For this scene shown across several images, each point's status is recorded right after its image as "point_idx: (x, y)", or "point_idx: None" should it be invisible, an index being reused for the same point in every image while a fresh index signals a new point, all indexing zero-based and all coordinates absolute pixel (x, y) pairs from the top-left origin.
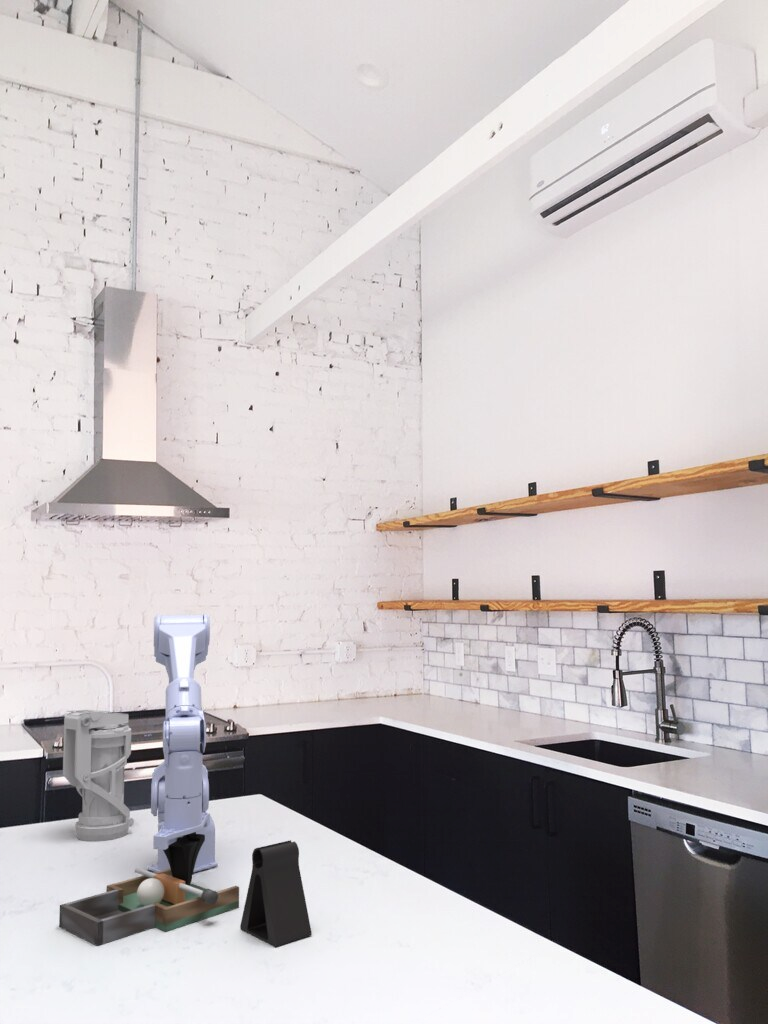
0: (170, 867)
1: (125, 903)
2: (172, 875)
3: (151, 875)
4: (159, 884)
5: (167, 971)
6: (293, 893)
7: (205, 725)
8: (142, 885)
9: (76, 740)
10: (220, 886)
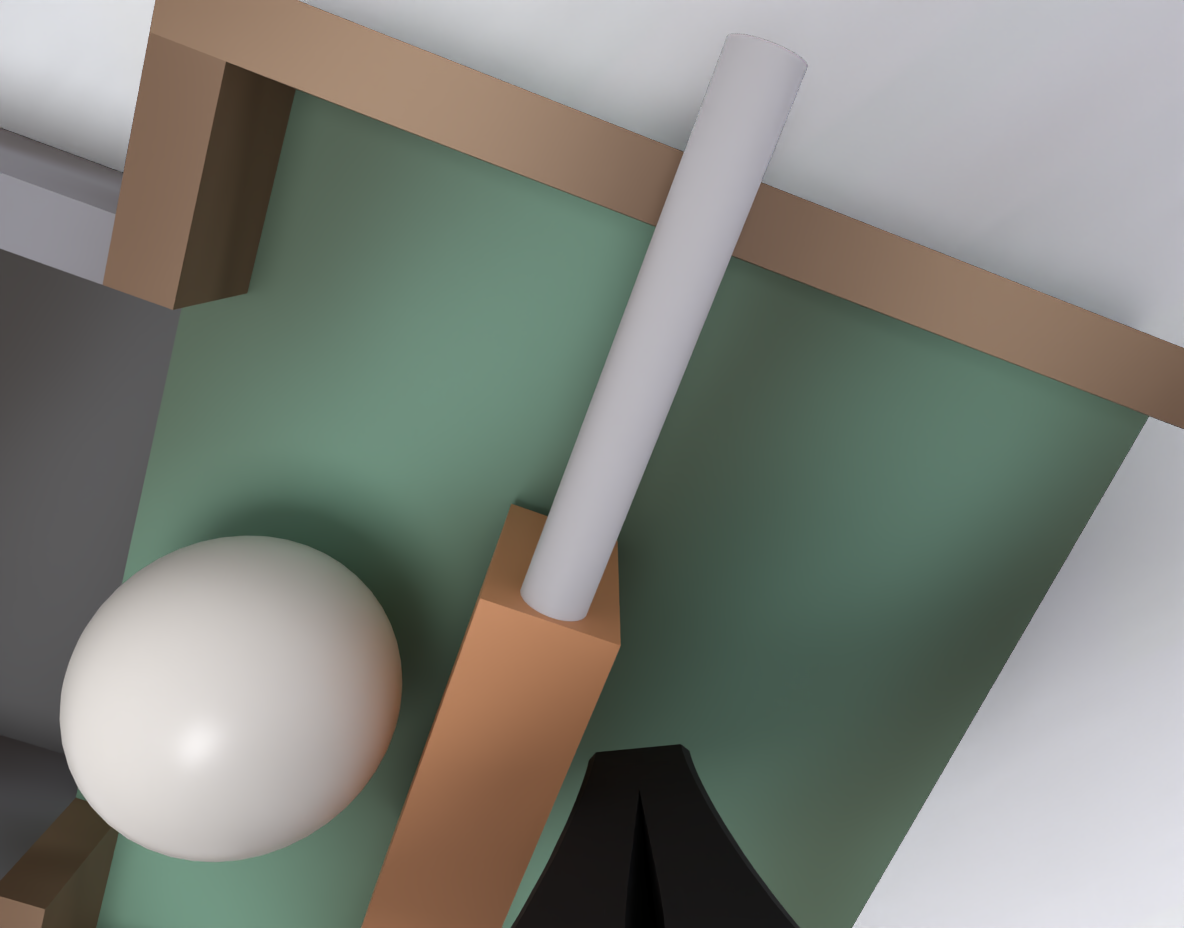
0: (532, 894)
1: (242, 332)
2: (569, 820)
3: (556, 496)
4: (220, 861)
5: None
6: None
7: None
8: (65, 720)
9: None
10: (1173, 751)
